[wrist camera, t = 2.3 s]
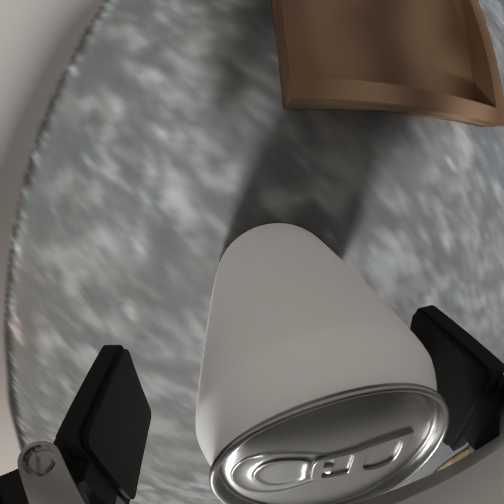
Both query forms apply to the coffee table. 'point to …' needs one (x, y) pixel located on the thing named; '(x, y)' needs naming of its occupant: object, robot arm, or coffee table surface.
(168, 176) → the coffee table surface
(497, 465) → the robot arm
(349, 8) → the tray
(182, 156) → the coffee table surface
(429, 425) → the can
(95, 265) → the coffee table surface
